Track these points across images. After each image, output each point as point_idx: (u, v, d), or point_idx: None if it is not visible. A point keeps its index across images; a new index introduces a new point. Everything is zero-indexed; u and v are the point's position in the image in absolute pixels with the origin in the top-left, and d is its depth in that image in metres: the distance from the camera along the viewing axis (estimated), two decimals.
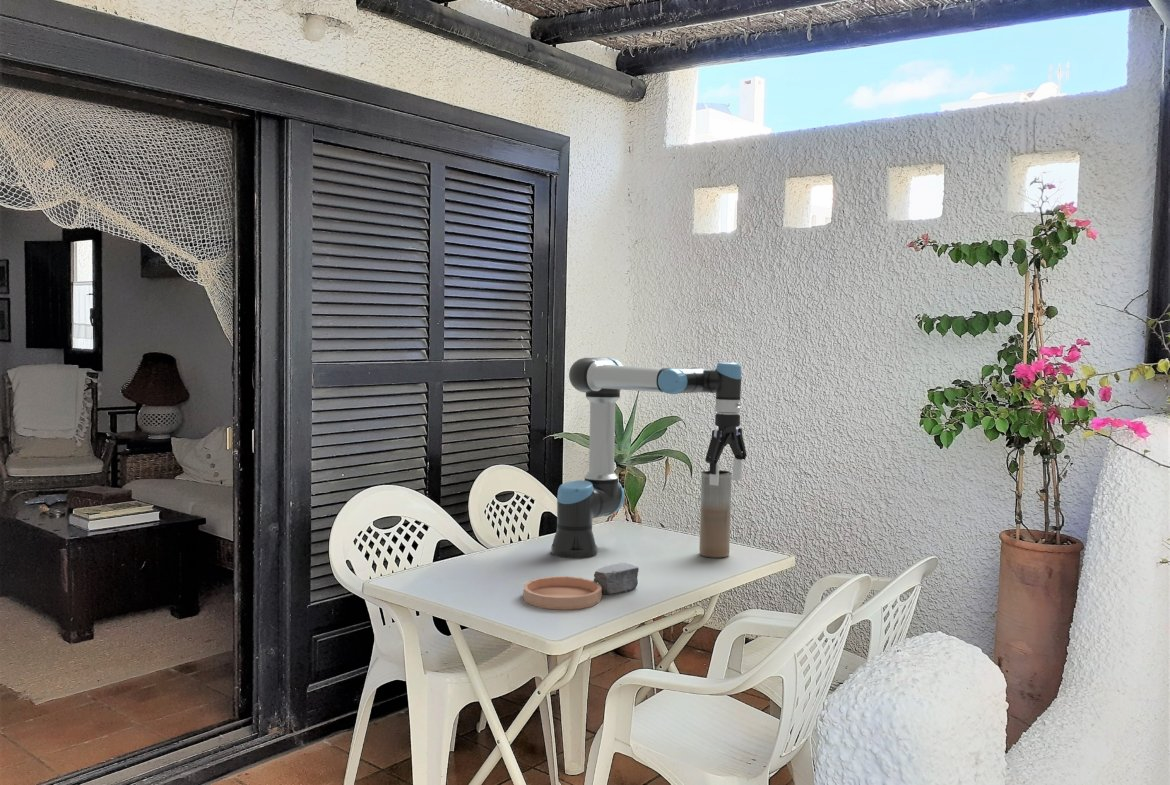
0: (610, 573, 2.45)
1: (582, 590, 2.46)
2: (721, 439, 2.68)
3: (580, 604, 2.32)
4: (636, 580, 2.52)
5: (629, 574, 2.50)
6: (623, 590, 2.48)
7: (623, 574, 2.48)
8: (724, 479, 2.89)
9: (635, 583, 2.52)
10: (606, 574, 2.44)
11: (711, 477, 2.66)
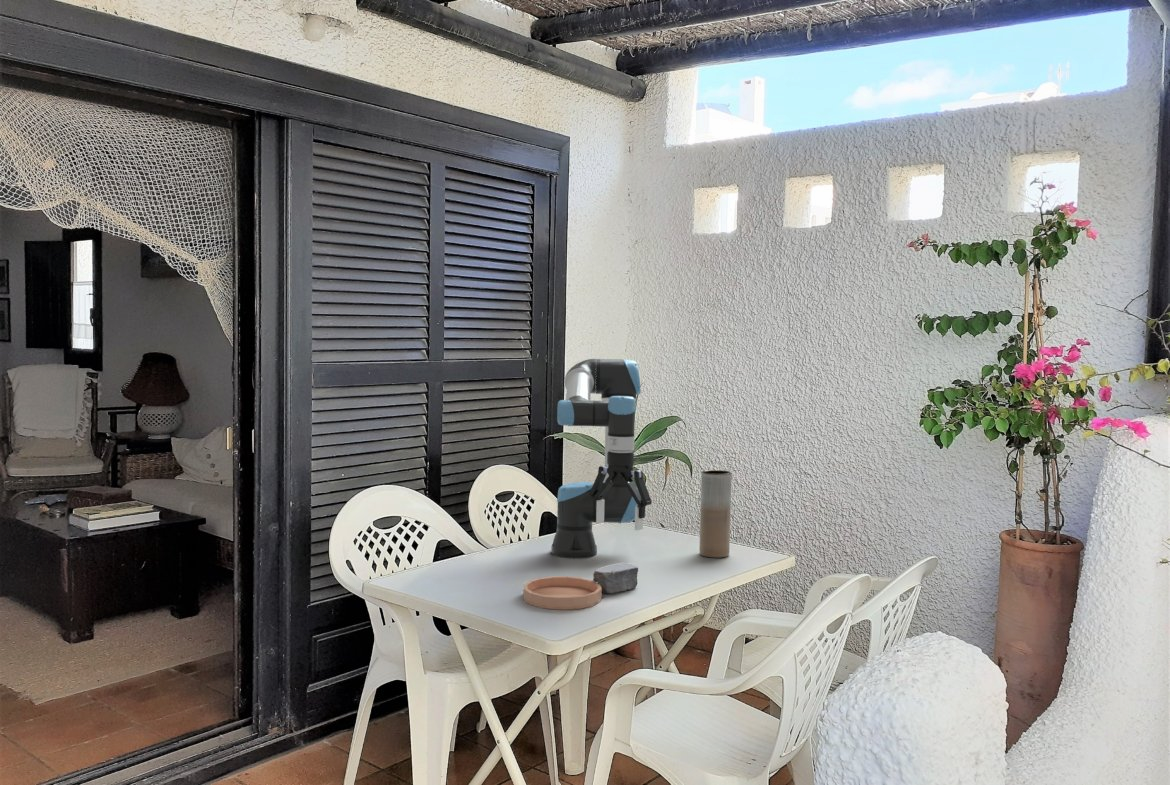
0: (609, 573, 2.45)
1: (582, 590, 2.46)
2: None
3: (580, 604, 2.32)
4: (636, 580, 2.52)
5: (628, 574, 2.50)
6: (622, 590, 2.48)
7: (622, 574, 2.48)
8: (724, 479, 2.89)
9: (635, 583, 2.52)
10: (605, 574, 2.45)
11: None
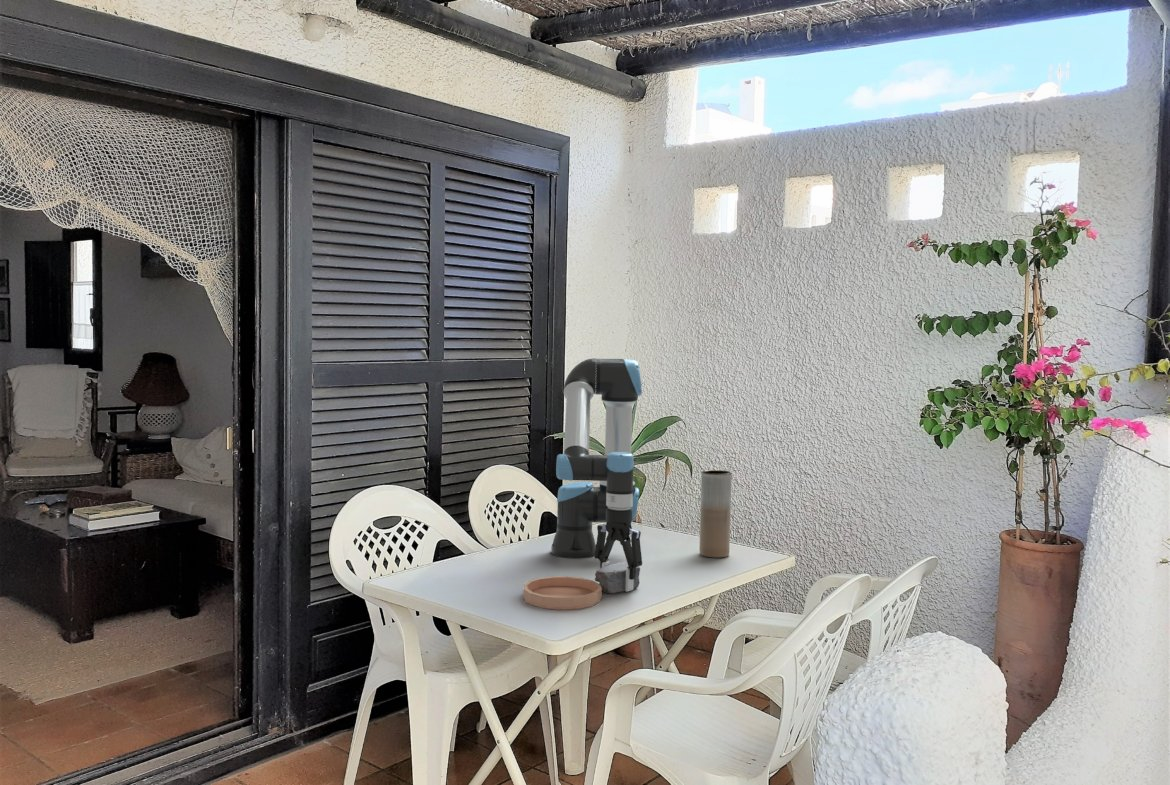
0: (611, 572, 2.45)
1: (582, 590, 2.46)
2: None
3: (580, 604, 2.32)
4: (638, 580, 2.52)
5: None
6: (624, 590, 2.48)
7: (624, 573, 2.48)
8: (724, 479, 2.89)
9: (637, 583, 2.52)
10: (607, 573, 2.45)
11: None
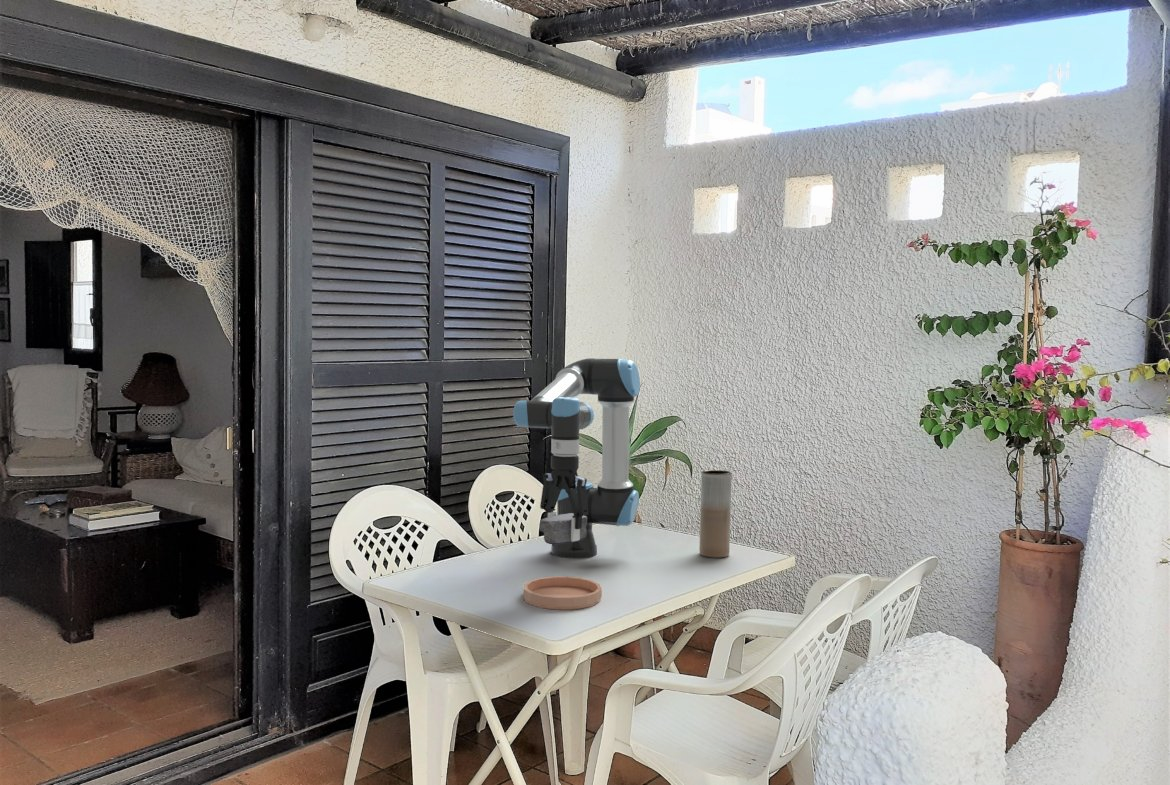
0: (555, 521, 2.35)
1: (582, 590, 2.46)
2: None
3: (580, 604, 2.32)
4: (585, 530, 2.42)
5: None
6: (570, 540, 2.38)
7: (570, 523, 2.38)
8: (724, 479, 2.89)
9: (584, 533, 2.42)
10: (551, 522, 2.34)
11: None
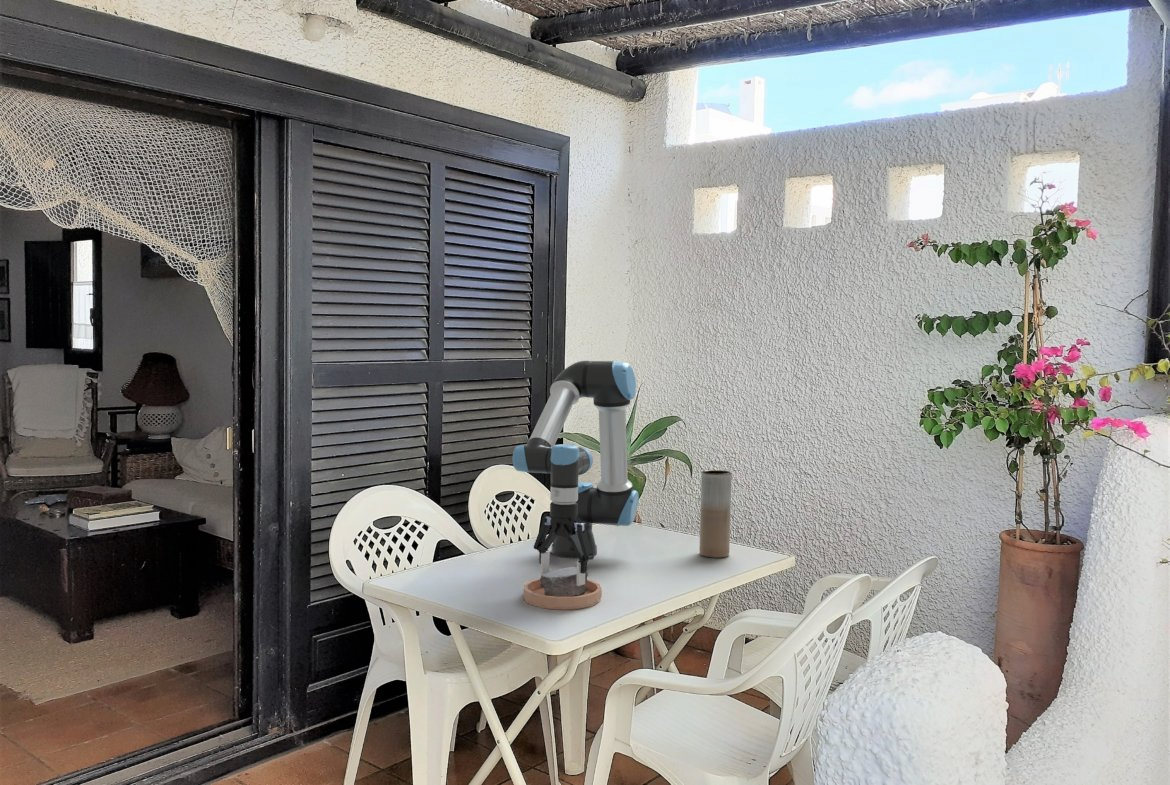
0: (556, 578, 2.35)
1: None
2: None
3: (580, 604, 2.32)
4: (585, 585, 2.42)
5: None
6: (570, 595, 2.38)
7: (570, 579, 2.38)
8: (724, 479, 2.89)
9: (584, 588, 2.42)
10: (551, 579, 2.35)
11: None
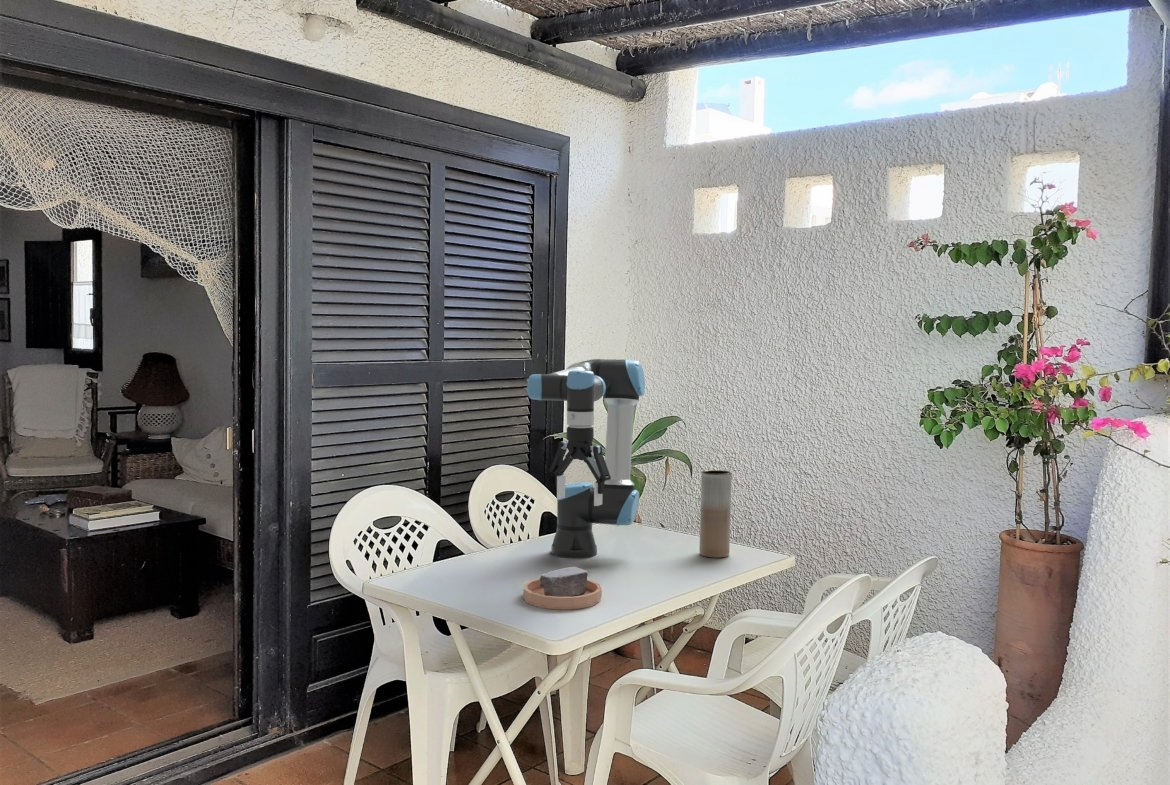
0: (555, 578, 2.35)
1: None
2: None
3: (580, 604, 2.32)
4: (585, 585, 2.42)
5: (577, 579, 2.40)
6: (570, 595, 2.39)
7: (570, 579, 2.38)
8: (724, 479, 2.89)
9: (584, 588, 2.42)
10: (551, 579, 2.35)
11: None
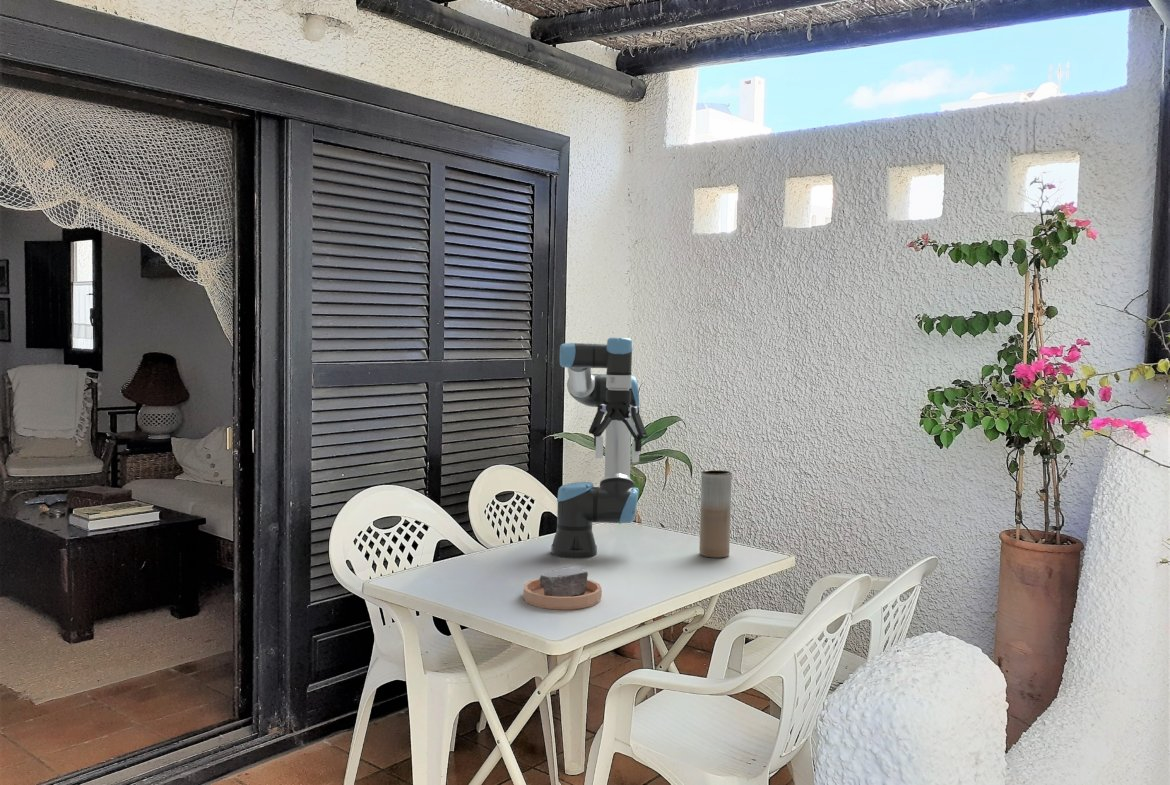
0: (555, 577, 2.35)
1: None
2: None
3: (580, 604, 2.32)
4: (585, 585, 2.42)
5: (577, 579, 2.40)
6: (570, 595, 2.39)
7: (570, 578, 2.38)
8: (724, 479, 2.89)
9: (584, 588, 2.42)
10: (551, 578, 2.35)
11: None
